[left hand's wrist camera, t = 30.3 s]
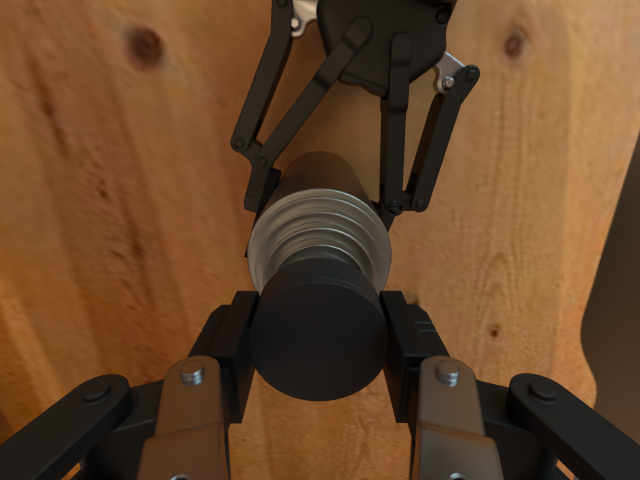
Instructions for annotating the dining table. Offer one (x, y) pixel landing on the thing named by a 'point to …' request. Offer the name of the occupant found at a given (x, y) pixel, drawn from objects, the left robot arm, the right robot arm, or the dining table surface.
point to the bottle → (319, 222)
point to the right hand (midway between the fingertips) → (299, 265)
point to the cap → (319, 330)
